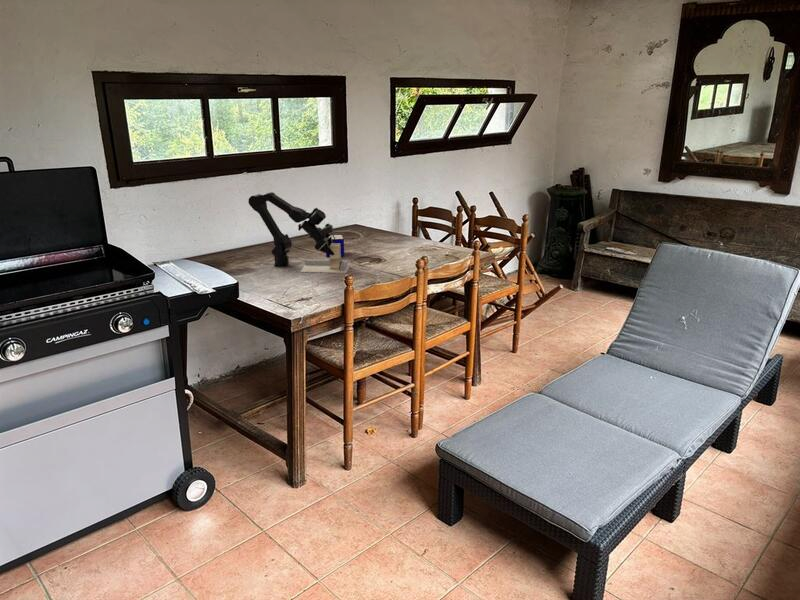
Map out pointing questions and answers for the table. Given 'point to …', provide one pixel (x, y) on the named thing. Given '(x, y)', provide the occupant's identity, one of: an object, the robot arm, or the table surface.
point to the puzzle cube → (337, 240)
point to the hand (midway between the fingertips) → (335, 252)
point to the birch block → (335, 256)
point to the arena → (324, 266)
